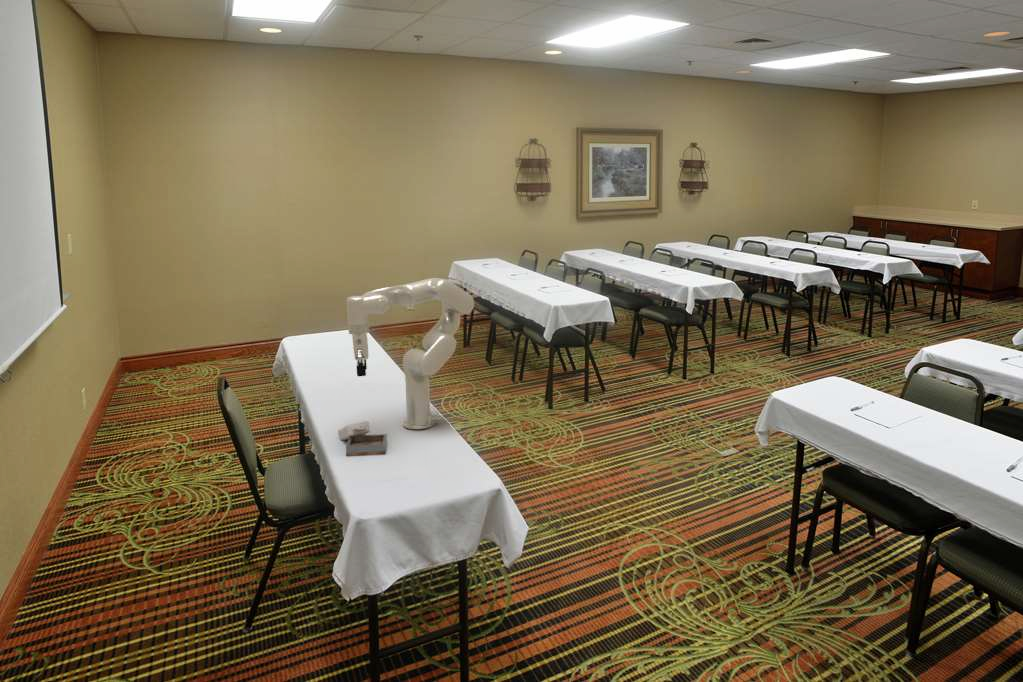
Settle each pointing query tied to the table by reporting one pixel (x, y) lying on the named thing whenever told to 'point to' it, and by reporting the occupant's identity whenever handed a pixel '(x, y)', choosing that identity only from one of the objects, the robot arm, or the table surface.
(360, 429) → the charger
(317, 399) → the table surface
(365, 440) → the tray
